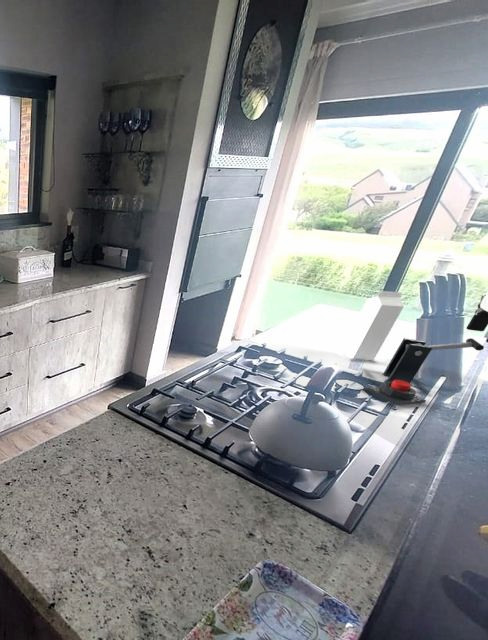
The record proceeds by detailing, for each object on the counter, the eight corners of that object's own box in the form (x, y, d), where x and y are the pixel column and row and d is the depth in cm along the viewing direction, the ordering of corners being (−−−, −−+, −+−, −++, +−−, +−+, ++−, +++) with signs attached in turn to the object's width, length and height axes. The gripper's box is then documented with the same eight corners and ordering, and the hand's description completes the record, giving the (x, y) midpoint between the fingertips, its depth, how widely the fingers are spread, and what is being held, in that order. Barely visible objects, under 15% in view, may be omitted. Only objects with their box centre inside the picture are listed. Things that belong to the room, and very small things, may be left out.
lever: (473, 344, 105) (474, 336, 104) (483, 352, 101) (484, 343, 100) (403, 350, 112) (403, 342, 111) (410, 357, 108) (410, 349, 107)
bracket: (411, 382, 115) (437, 341, 109) (424, 396, 108) (452, 354, 102) (364, 372, 119) (386, 333, 113) (373, 386, 112) (397, 344, 106)
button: (396, 384, 106) (400, 379, 105) (411, 391, 103) (414, 385, 102) (386, 385, 105) (390, 380, 104) (400, 392, 102) (404, 386, 101)
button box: (388, 391, 110) (396, 378, 108) (421, 407, 103) (430, 394, 101) (362, 393, 108) (370, 381, 106) (394, 410, 102) (403, 397, 100)
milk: (371, 364, 125) (411, 296, 114) (350, 362, 125) (387, 294, 114) (358, 355, 130) (394, 289, 119) (338, 354, 131) (372, 287, 120)
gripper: (578, 278, 85) (526, 352, 93) (528, 262, 98) (486, 328, 107) (527, 274, 88) (481, 346, 96) (485, 259, 101) (448, 323, 109)
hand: (484, 336), depth 101 cm, fingers open, 9 cm apart
